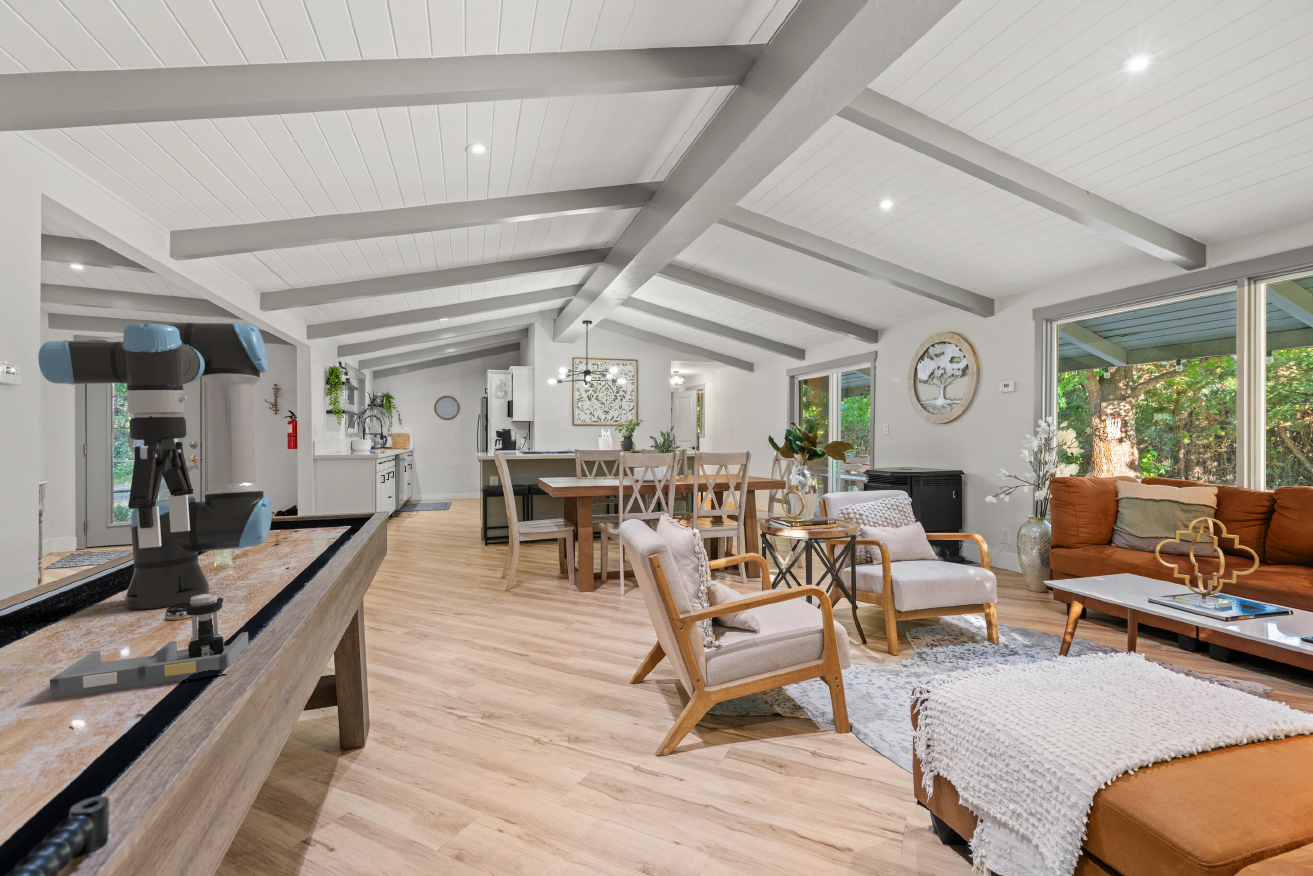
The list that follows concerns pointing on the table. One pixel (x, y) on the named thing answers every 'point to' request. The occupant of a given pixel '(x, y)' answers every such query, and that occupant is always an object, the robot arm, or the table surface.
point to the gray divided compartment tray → (138, 670)
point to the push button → (204, 626)
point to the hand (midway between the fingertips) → (166, 538)
